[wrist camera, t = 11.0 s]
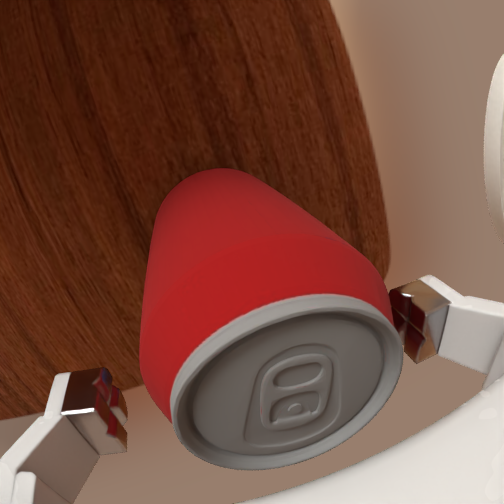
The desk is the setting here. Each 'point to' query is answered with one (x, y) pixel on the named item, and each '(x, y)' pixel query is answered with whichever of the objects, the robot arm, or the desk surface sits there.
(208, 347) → the beverage can
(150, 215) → the desk surface
